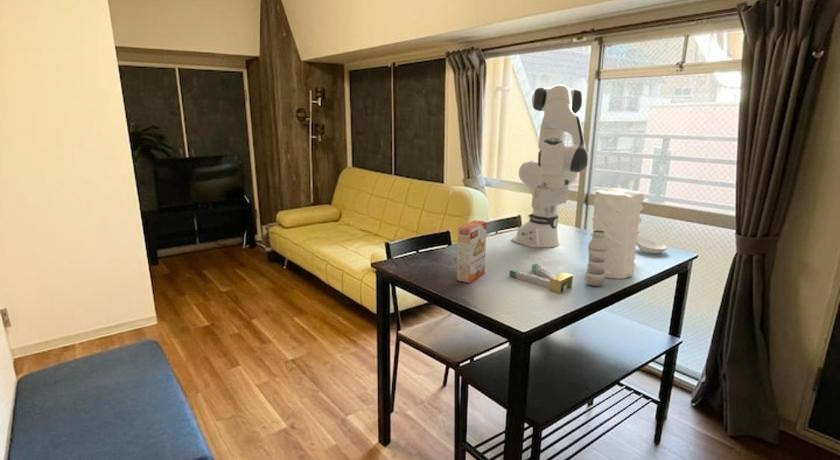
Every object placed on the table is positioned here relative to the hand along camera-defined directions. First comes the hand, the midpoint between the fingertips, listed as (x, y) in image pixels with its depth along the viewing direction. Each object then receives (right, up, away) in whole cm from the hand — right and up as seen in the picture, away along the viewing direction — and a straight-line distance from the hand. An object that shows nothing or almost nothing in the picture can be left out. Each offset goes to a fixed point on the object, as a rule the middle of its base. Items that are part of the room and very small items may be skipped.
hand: (549, 217), depth 178 cm
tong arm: (-3, -23, -4) cm, 24 cm away
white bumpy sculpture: (+24, -22, 0) cm, 32 cm away
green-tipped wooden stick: (-7, -25, -10) cm, 27 cm away
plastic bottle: (+13, -25, -12) cm, 31 cm away
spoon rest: (+48, -14, +28) cm, 57 cm away
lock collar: (0, -26, -16) cm, 30 cm away
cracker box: (-31, -23, -3) cm, 39 cm away
